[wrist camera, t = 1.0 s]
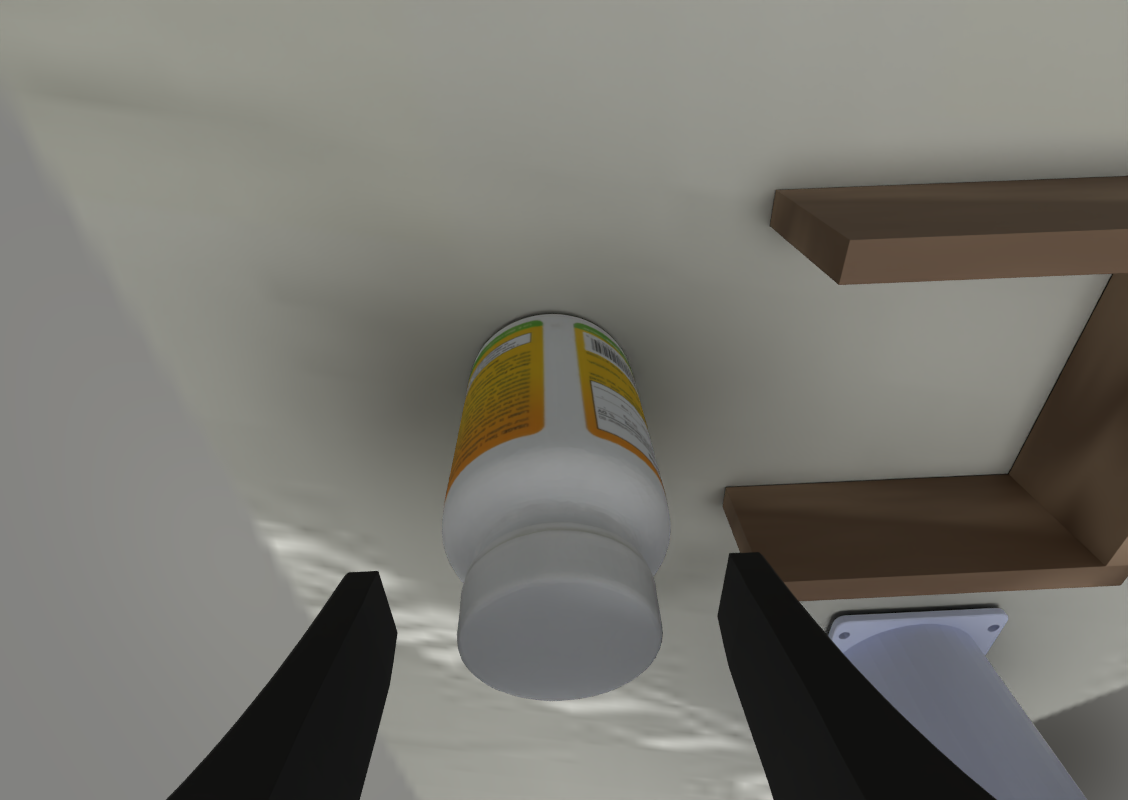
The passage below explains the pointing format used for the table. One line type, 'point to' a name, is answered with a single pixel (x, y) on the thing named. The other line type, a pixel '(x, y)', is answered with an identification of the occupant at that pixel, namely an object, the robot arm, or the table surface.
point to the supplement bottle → (555, 515)
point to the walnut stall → (1052, 450)
